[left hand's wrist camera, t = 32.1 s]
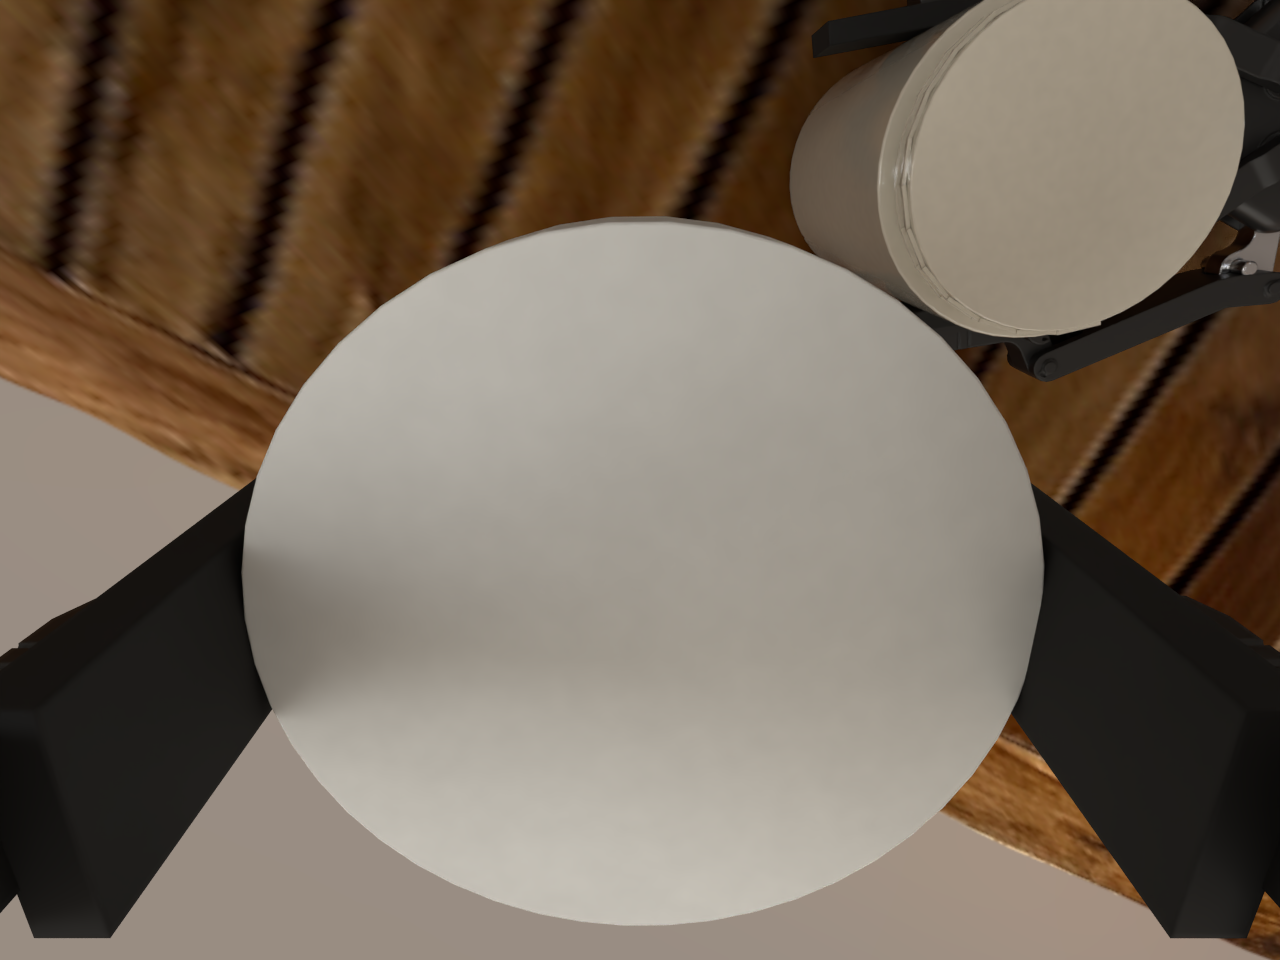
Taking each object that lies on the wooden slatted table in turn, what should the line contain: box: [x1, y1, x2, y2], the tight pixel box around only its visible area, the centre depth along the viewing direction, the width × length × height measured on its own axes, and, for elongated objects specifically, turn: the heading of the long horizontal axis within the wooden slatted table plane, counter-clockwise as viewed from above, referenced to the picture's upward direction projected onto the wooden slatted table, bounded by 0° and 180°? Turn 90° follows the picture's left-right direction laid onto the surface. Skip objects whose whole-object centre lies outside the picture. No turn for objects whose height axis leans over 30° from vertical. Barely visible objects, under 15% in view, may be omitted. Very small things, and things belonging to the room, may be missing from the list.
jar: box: [790, 0, 1245, 338], centre depth 28 cm, size 10×10×15 cm
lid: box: [241, 216, 1044, 925], centre depth 11 cm, size 10×10×2 cm
